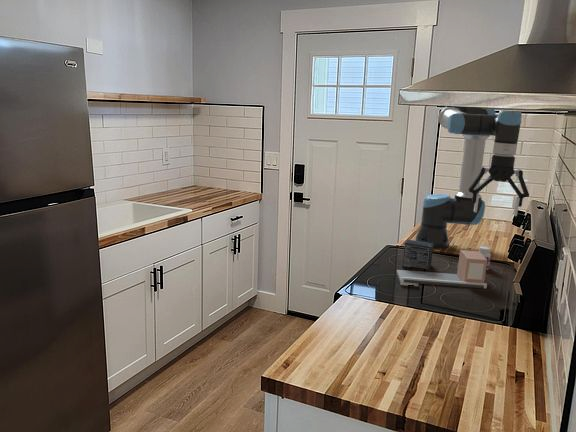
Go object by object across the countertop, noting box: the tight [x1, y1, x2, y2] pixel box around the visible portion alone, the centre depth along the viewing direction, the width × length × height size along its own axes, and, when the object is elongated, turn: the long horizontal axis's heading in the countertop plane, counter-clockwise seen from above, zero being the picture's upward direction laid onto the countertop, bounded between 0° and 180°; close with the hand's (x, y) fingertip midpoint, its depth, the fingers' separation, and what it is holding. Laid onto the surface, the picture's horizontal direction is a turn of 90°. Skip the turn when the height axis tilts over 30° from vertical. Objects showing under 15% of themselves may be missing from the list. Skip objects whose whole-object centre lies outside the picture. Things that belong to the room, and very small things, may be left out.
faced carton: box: [456, 249, 487, 283], centre depth 178 cm, size 10×7×10 cm
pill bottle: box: [478, 246, 492, 271], centre depth 193 cm, size 5×5×10 cm
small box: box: [401, 239, 434, 270], centre depth 193 cm, size 11×6×10 cm, turn 65°
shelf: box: [395, 269, 488, 289], centre depth 179 cm, size 13×30×3 cm, turn 85°
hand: (494, 213), depth 176 cm, fingers open, 13 cm apart
